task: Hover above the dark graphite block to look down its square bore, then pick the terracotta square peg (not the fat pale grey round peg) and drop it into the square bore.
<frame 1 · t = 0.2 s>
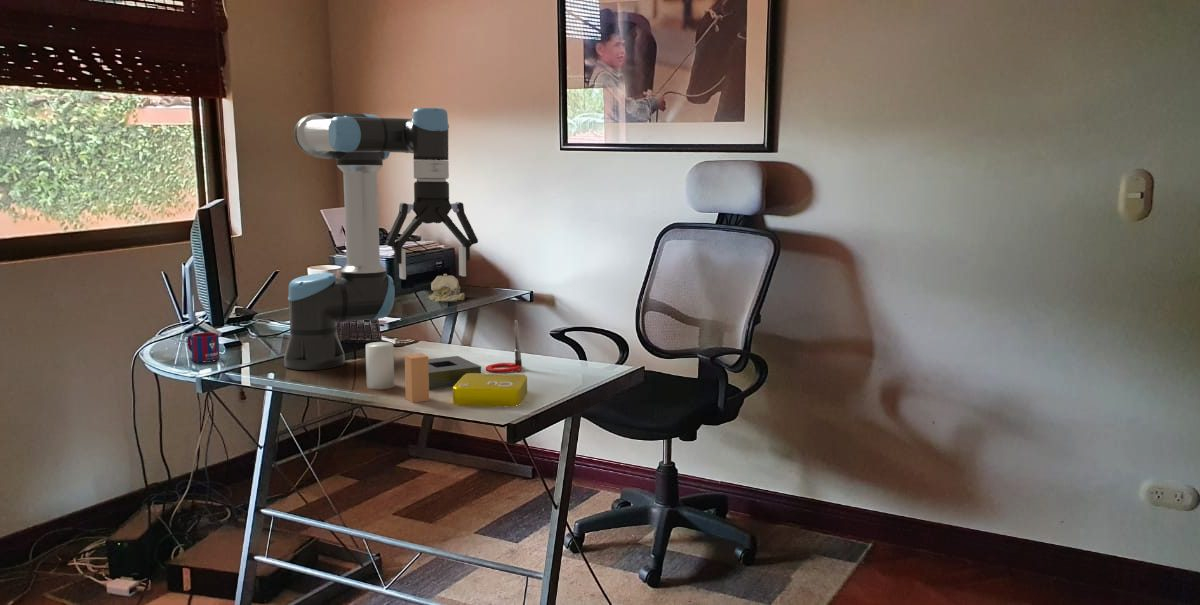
hand: (433, 277, 205), 28 cm above the table, tool pointing down, fingers open, 13 cm apart
square peg: (417, 399, 208), on the table
element tile: (491, 400, 210), on the table
mug: (202, 359, 247), on the table
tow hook: (503, 370, 238), on the table
round peg: (380, 386, 220), on the table
ceramic model: (446, 300, 355), on the table
bore block: (442, 380, 226), on the table
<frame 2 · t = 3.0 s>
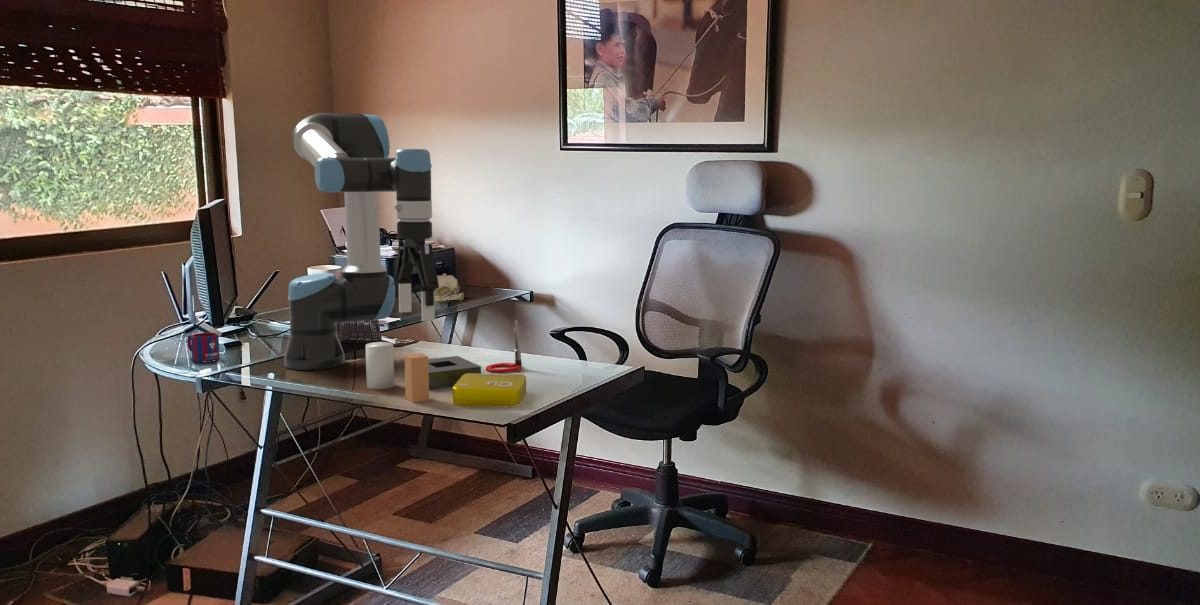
hand: (416, 316, 205), 19 cm above the table, tool pointing down, fingers open, 13 cm apart
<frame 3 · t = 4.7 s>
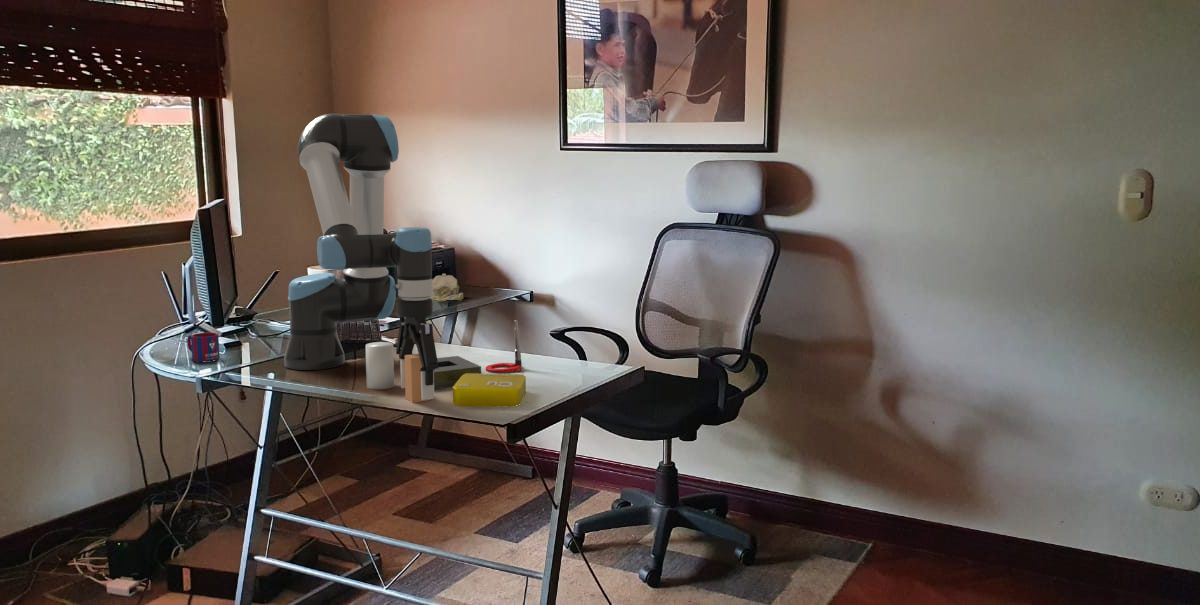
hand: (417, 392, 208), 1 cm above the table, tool pointing down, fingers open, 12 cm apart
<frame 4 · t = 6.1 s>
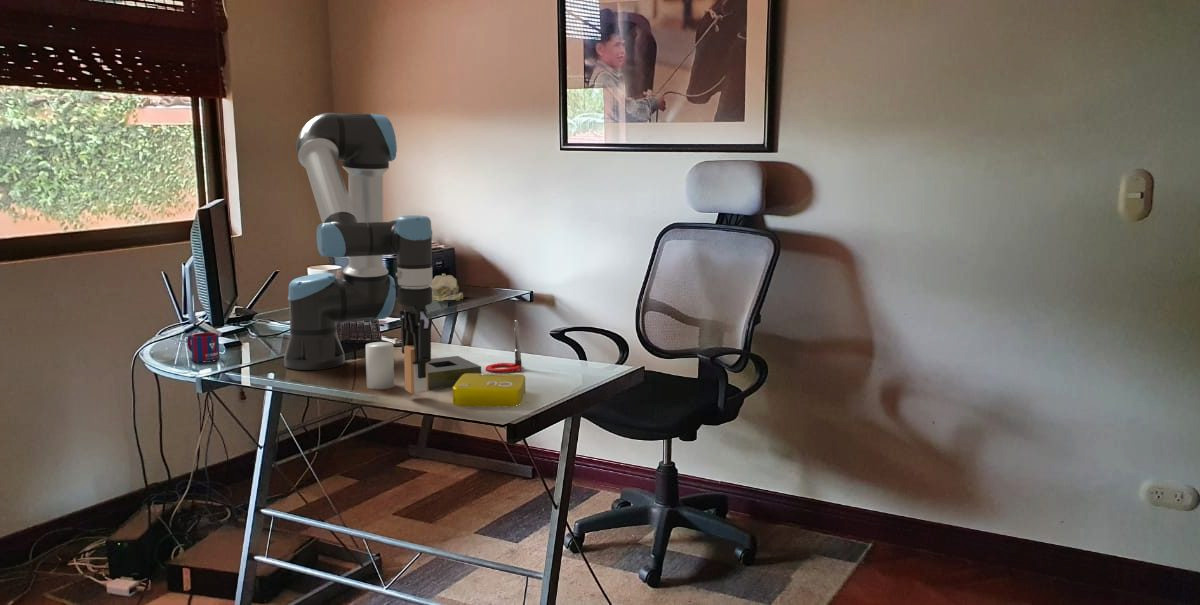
hand: (416, 388, 208), 2 cm above the table, tool pointing down, fingers closed on square peg, 4 cm apart
square peg: (416, 390, 208), point 2 cm above the table, touching gripper
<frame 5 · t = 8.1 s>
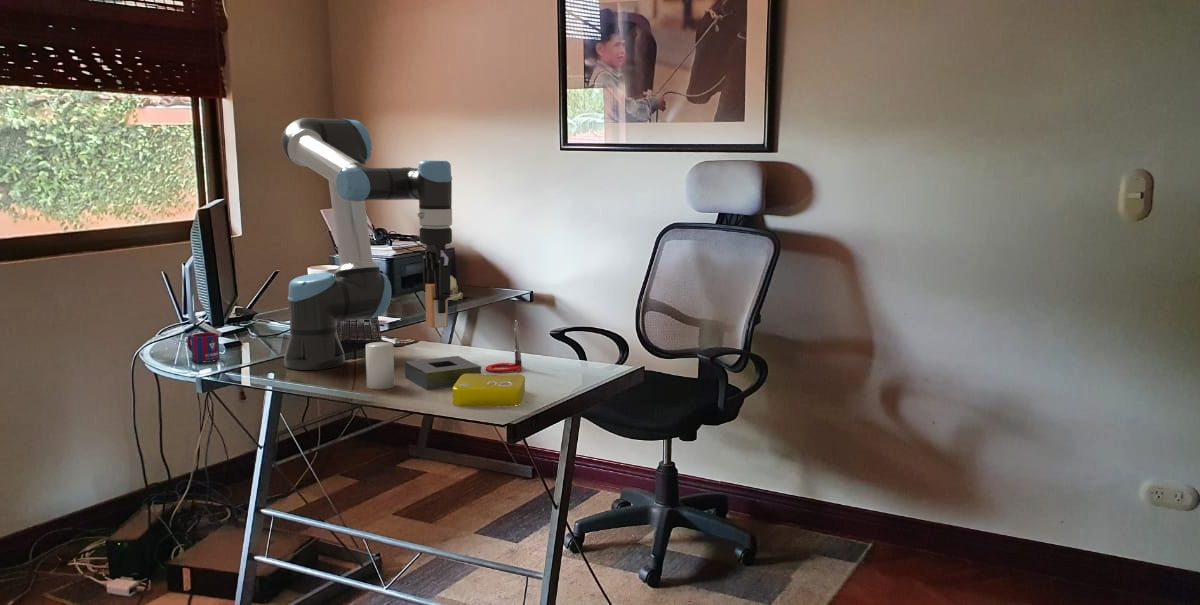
hand: (436, 324, 221), 14 cm above the table, tool pointing down, fingers closed on square peg, 4 cm apart
square peg: (436, 326, 221), point 14 cm above the table, touching gripper
when the fingers open (5 cm above the table, at t = 10.4 s): square peg drops 5 cm, resting in bore block.
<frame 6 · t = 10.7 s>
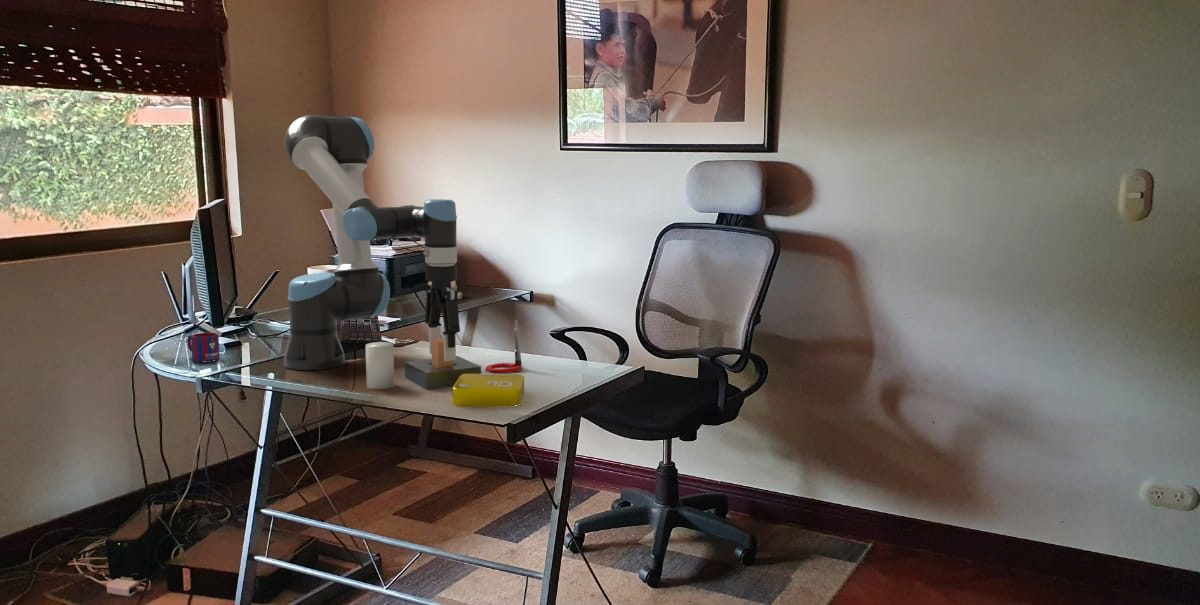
hand: (442, 356, 225), 6 cm above the table, tool pointing down, fingers open, 8 cm apart
square peg: (442, 380, 226), resting in bore block
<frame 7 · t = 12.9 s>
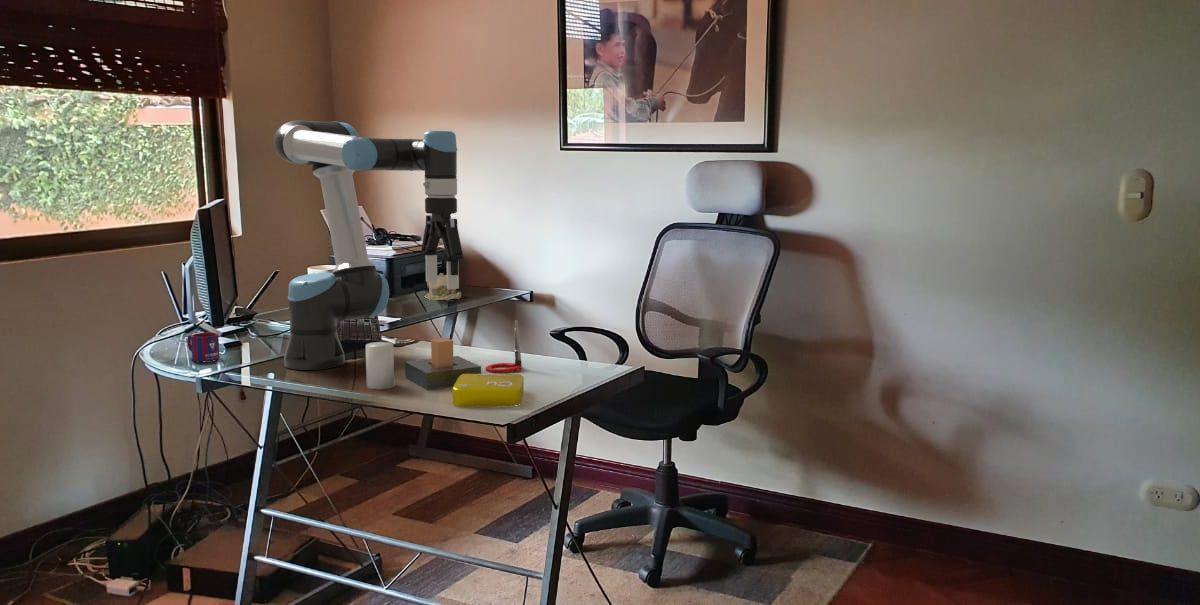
hand: (441, 285, 223), 23 cm above the table, tool pointing down, fingers open, 13 cm apart
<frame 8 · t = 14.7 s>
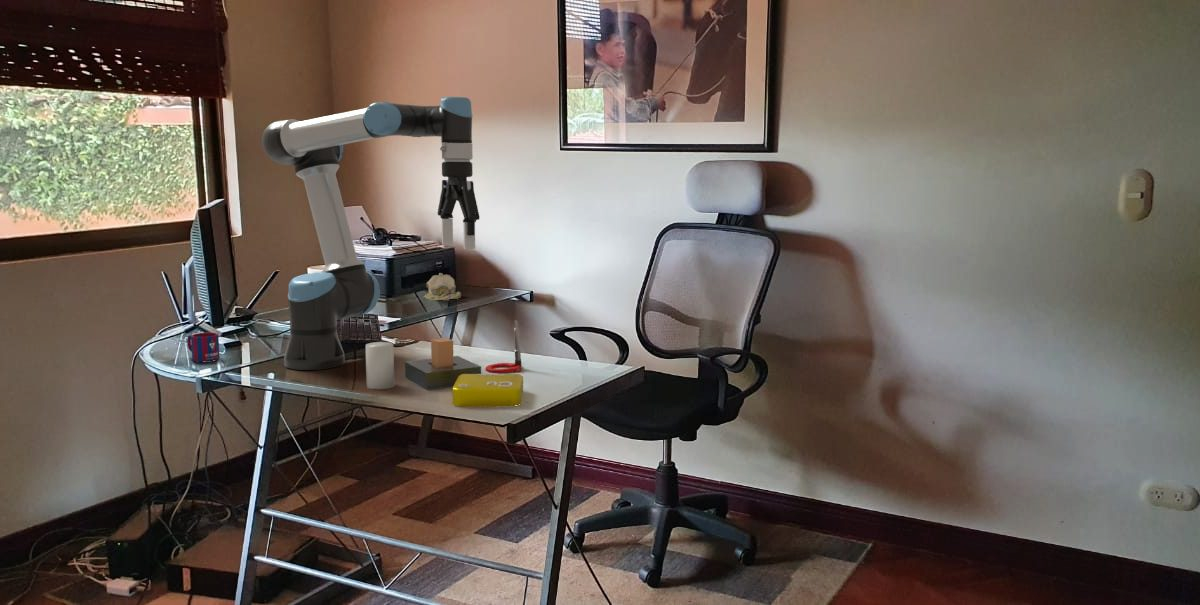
hand: (458, 246, 232), 32 cm above the table, tool pointing down, fingers open, 13 cm apart
at the end: square peg 0.1 cm off-centre on the bore block, point 0.0 cm above the bore block's base; square peg tilted 0°; round peg moved 0.0 cm from its start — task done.
